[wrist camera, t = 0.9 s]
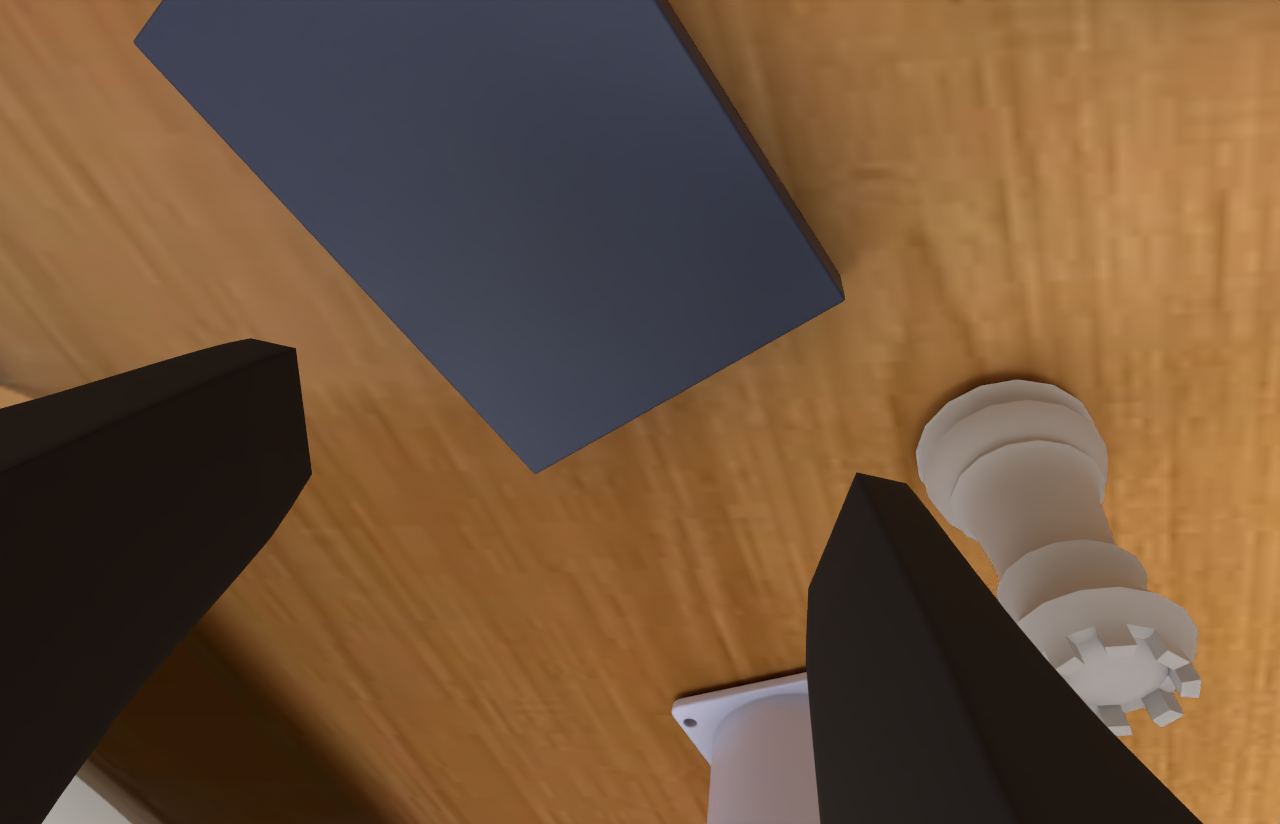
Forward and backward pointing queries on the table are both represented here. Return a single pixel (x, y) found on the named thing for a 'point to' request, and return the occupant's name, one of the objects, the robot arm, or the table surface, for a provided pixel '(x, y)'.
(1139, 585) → the rook chess piece
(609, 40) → the notebook
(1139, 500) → the table surface
